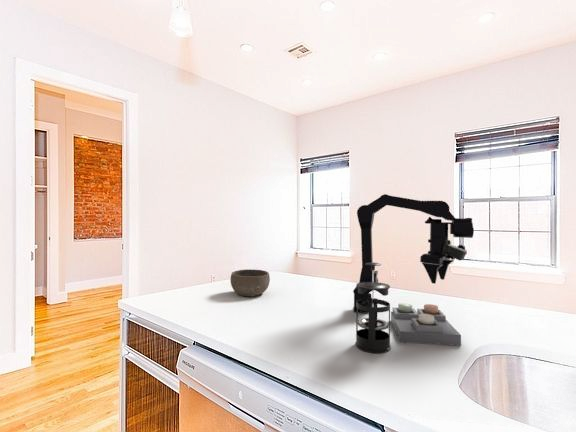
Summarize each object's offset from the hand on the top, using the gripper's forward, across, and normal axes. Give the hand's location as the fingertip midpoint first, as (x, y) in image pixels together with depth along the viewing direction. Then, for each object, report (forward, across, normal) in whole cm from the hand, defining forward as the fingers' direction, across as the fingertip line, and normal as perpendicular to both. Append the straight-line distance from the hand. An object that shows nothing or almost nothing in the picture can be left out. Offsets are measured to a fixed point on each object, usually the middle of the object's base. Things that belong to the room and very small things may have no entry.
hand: (438, 281), depth 114 cm
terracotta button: (+8, -10, -1) cm, 13 cm away
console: (+13, -17, -1) cm, 21 cm away
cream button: (+8, -21, -3) cm, 23 cm away
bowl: (+14, -22, +74) cm, 79 cm away
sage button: (+8, -14, +6) cm, 17 cm away
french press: (+13, -37, +5) cm, 40 cm away
